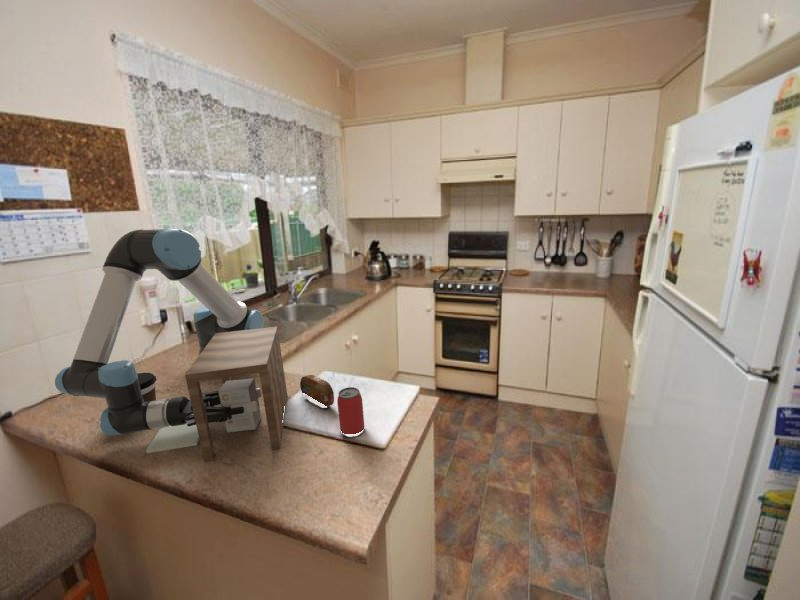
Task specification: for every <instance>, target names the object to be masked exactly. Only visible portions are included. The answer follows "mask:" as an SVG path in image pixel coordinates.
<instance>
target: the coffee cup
mask: <svg viewBox="0 0 800 600" xmlns="http://www.w3.org/2000/svg"><path fill="white" fill-rule="evenodd" d="M137 374H138V381H139V385H140V389H141V393H142V396H143V400H144V402H148V401H155V400H157V397H156V396H157V395H156V393H157V391H156V384H155V383H156V382H157V376H156V375H154V373H152V372H140V373H138V372H137Z"/></svg>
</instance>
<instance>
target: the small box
mask: <svg viewBox="0 0 800 600" xmlns="http://www.w3.org/2000/svg"><path fill="white" fill-rule="evenodd" d="M256 388H257V385H256V381H255V378H254V377H253V378H243V379H242V378H241V379H231V381H226V382H225V383H224V385H223V384H222V385H221V387H220V388H219V390H217V391H218V392H219V397H220V402H221V404H220V407H230V408H231V405H233V404H240V403H247V402H253V401H256V402H257V407H258V411H255V412H249V413H242V414H236V415H232V419H230V420H227V421H224V425H225V430H226V433H235V432H236V433H237V432H243V431H244V432H245V431H251V430H252V431H253V430H257V428H258V425H259V423H260V420H261V418H262V413H261V407H260V402H259V398H258V396H257V390H256ZM227 419H228V418H227Z"/></svg>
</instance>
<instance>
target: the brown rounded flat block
mask: <svg viewBox="0 0 800 600" xmlns="http://www.w3.org/2000/svg"><path fill="white" fill-rule="evenodd" d="M300 378H301V379H300V381H299V383H300V384H299V386H300V392H301V394H302V393H305V394H307V395H308V396H310V397H312V398H313V399H315V400H317V401H318V402H320V403H322V404H324V405H325V406H327V408H329V407H328V406H330V405H331V406H333V405H334V402H335V395H334V389H333V387H332V386H331V384H330V383H329V382H328V381H326V380H324V379H322V378H321V377H318V376H316V375H314V374H308V375H305V376H302V377H300ZM331 406H330V407H331Z"/></svg>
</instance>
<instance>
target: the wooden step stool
mask: <svg viewBox="0 0 800 600" xmlns="http://www.w3.org/2000/svg"><path fill="white" fill-rule="evenodd" d="M198 355H199V354H198ZM283 363H284V362H283V357H282V349H281V343H280V336H279V329H278V326H269V327H263V328H259V329H250V330H241V331H233V332H224V333H215V335H214V336H213V337H212V339H211V340H210V341H209V343H208V344H207V346H206V347H205V348H204V350H203V351H202V352H201V354H200V355H199V356H197V357H196V359H195V360H194V361H193V363H192V365H191V366H190V367H189V369H188V370H186V372H185V374H184V377H185V381H186V386H187V390H188V394H189V400H191V404H192V408H193V413H194V417H195V422H196V426H197V430H198V435H199V439H200V440H199V443H200V448H201V452H202V456H203V460H204V463H208V462H213V461H214V460H215V458H216V453H215V452H216V451H215V447H214V442H213V439H212V434H211V430H210V429H211V428H210V425H209V424H210V423H208V419H207V414H206V410H205V405H204V401H203V396H202V393H203V391H202V386H201V383H200V382H201V381H202V382H203V381H208V380H215V379H222V386H223V385H224V383H225V382H226V381H231V380H232V377H237V376H244V375H251V374H258V375H259V381H260V389H261V395H262V399H263V400H262V401H263V405H264V410H265V418H266V424H267V430H268V435H269V441H270V447H271V451H275V450H280V449H281V444H282V437H283V428H284V423H282V420H283V413H284V406H285V404H286V405H287V398H288V391H287V390H288V389H287V384H286V383H287V382H286V377H285V370H284V364H283Z"/></svg>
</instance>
